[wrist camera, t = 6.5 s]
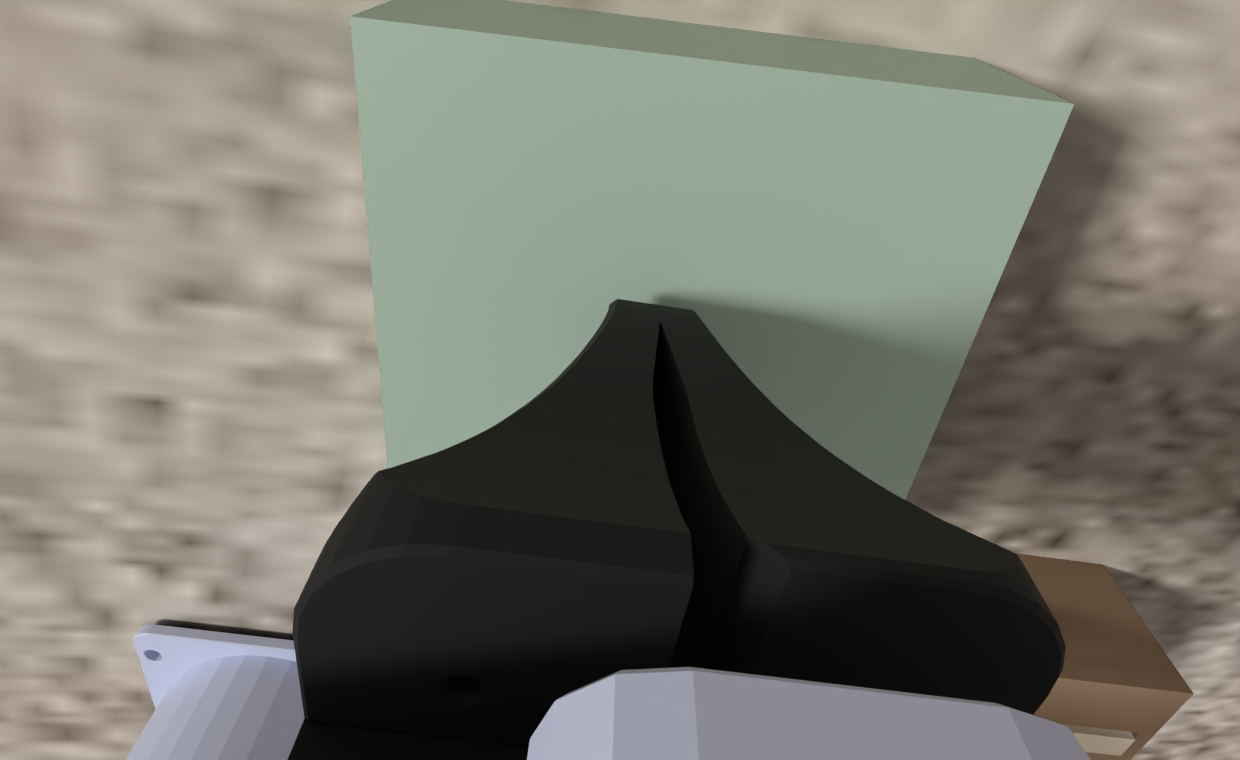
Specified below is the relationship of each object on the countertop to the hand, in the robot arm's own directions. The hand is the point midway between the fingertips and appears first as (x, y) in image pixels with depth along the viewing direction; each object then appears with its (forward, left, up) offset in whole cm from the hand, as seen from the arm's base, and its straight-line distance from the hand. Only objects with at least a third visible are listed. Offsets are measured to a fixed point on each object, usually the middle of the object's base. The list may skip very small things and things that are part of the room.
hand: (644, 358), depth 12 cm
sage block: (-1, 0, -5) cm, 5 cm away
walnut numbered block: (-9, -12, -4) cm, 16 cm away
